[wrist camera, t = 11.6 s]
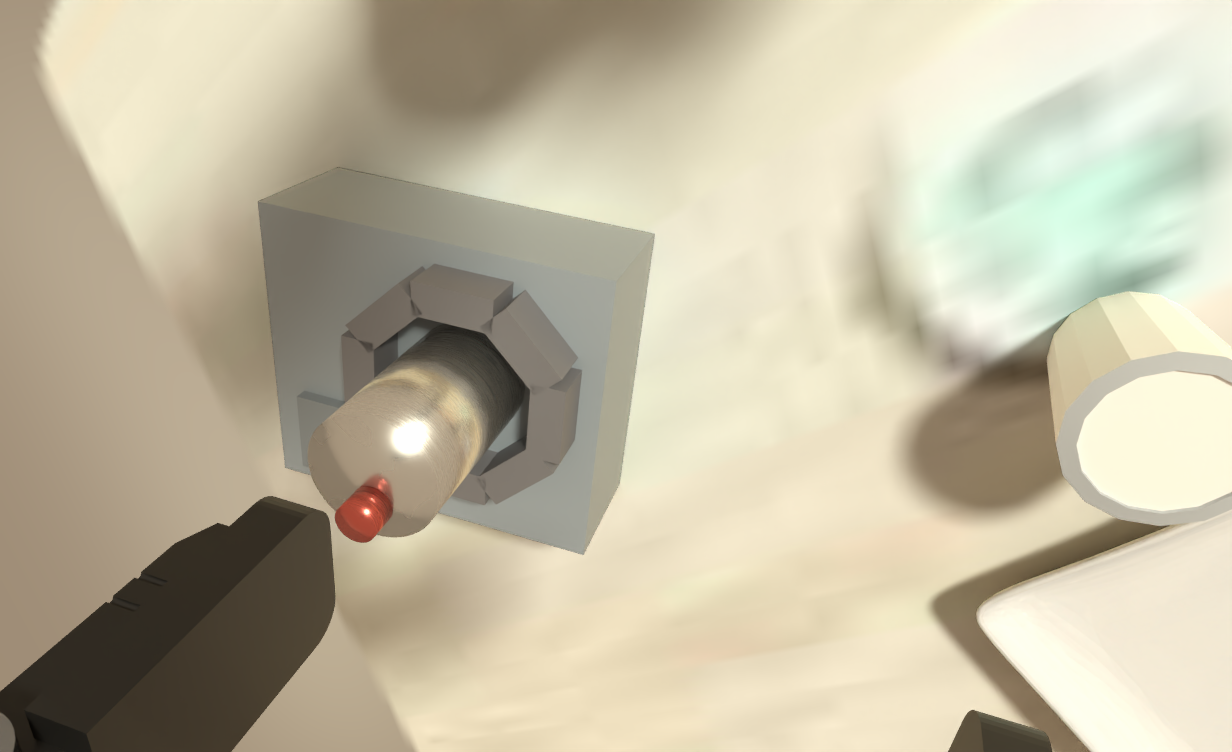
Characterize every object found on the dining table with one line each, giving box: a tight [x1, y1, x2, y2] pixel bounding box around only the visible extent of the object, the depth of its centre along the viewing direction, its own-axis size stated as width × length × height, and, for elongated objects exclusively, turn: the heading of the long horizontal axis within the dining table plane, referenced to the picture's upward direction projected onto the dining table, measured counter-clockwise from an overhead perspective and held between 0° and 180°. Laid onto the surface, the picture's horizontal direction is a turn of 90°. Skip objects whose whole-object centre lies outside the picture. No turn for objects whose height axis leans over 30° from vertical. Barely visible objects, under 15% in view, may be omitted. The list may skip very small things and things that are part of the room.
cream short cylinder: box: [1047, 291, 1232, 526], centre depth 31 cm, size 7×7×7 cm
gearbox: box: [258, 167, 655, 555], centre depth 40 cm, size 17×16×8 cm
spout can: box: [308, 324, 525, 543], centre depth 33 cm, size 5×5×9 cm
